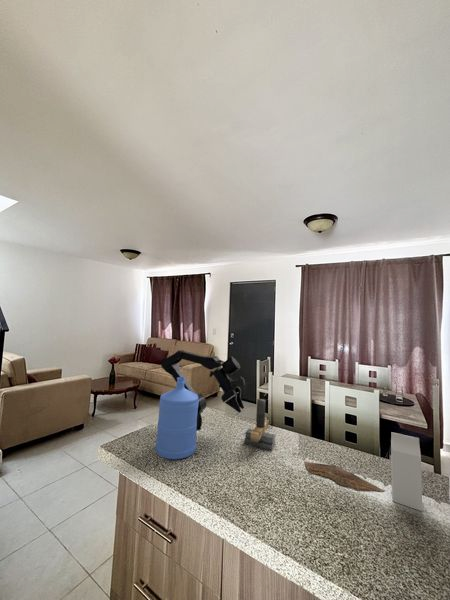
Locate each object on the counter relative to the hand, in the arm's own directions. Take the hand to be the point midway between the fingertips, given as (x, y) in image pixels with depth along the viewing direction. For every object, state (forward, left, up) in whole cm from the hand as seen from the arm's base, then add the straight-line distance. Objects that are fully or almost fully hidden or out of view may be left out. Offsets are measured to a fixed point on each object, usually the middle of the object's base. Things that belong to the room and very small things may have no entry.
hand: (241, 410), depth 114 cm
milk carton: (+38, -48, -12) cm, 62 cm away
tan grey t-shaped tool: (+7, -6, -8) cm, 12 cm away
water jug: (-29, -7, -12) cm, 33 cm away
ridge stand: (+7, -7, -12) cm, 15 cm away
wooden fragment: (+26, -34, -13) cm, 44 cm away
